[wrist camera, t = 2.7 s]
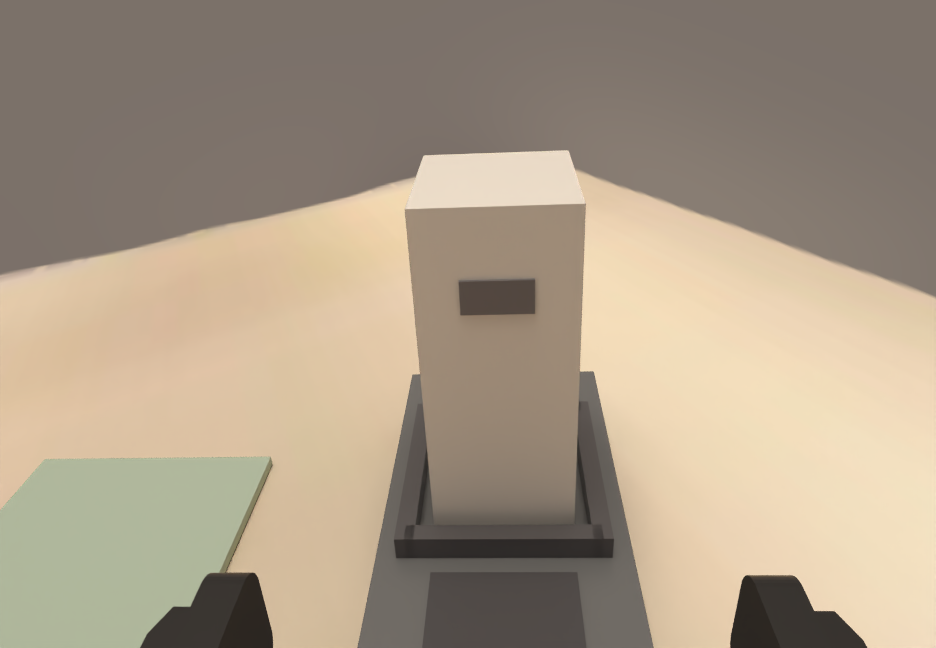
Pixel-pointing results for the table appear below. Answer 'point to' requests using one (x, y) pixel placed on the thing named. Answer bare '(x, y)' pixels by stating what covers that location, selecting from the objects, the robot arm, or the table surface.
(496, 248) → the charger
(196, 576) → the mat
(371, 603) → the strip
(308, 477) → the table surface
